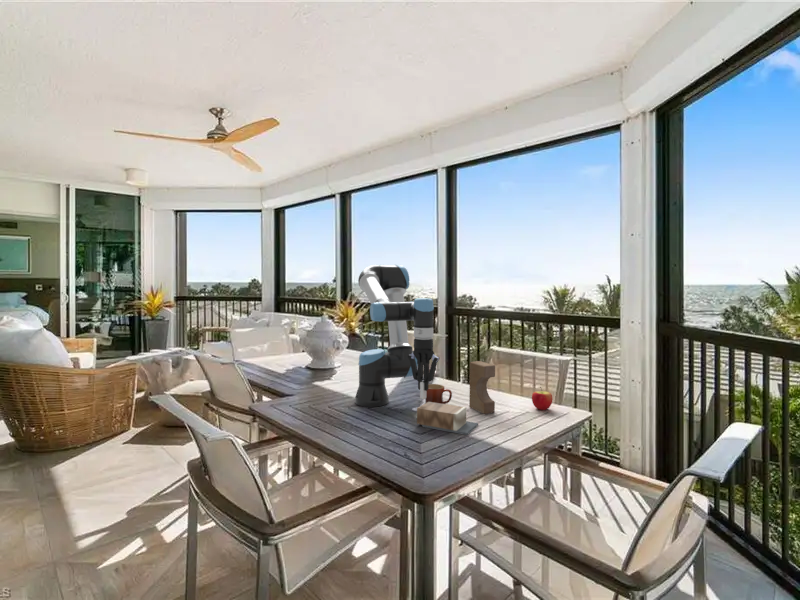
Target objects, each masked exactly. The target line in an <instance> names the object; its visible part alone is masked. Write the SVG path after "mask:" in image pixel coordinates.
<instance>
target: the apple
mask: <svg viewBox="0 0 800 600" xmlns="http://www.w3.org/2000/svg"><path fill="white" fill-rule="evenodd" d="M540 390H541V391H537V390H536V391H533V393H532V395H531V402H532V404H533V406H534V407H535V408H536V409H537V410H540V411H546V410H549V408H550V407H551V406H552V403H553V395H552V393H551V392H549V391H543V389H542V387H541V386H540Z"/></svg>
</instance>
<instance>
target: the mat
mask: <svg viewBox="0 0 800 600" xmlns="http://www.w3.org/2000/svg"><path fill="white" fill-rule="evenodd" d="M421 426H422V427H423V428H427V429H431V430H432V429H433V430H439V431H443V432H449V433H453V434H459V435H466V436H468V435H469V434H471V432H473V431H474V429H476V428H477V427H478V426H479V423H478V422H474V421H468V420H466V424H464V425H463V426H462V427H461V428H460V429H458V430H457V431H454V430H449V429H444V428H438V427H433V426H427V425H422V424H421Z"/></svg>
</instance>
